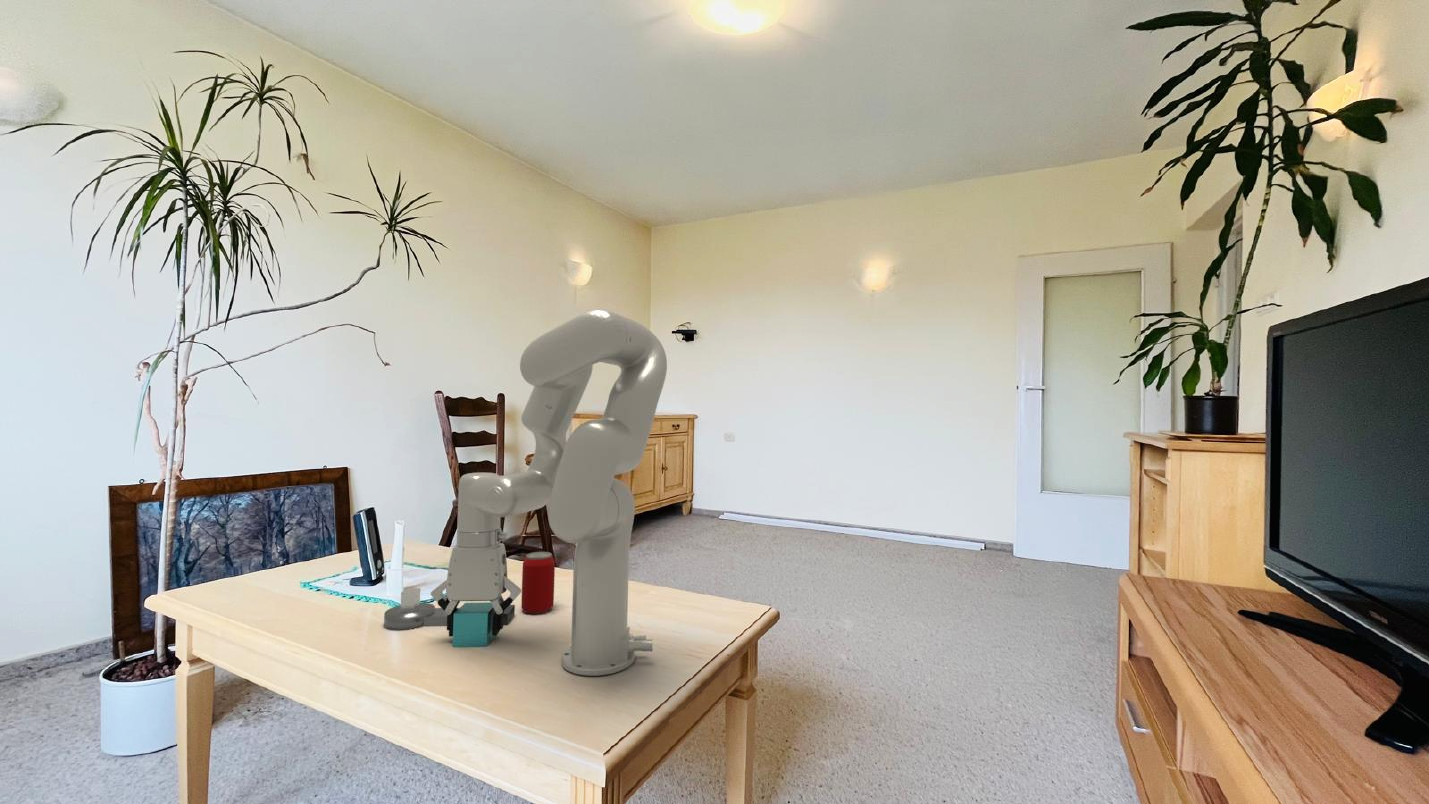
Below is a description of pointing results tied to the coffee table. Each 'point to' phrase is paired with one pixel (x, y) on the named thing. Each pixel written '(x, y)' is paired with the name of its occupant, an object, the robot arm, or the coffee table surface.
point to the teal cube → (473, 625)
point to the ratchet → (422, 613)
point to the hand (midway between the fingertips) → (475, 632)
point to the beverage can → (538, 582)
